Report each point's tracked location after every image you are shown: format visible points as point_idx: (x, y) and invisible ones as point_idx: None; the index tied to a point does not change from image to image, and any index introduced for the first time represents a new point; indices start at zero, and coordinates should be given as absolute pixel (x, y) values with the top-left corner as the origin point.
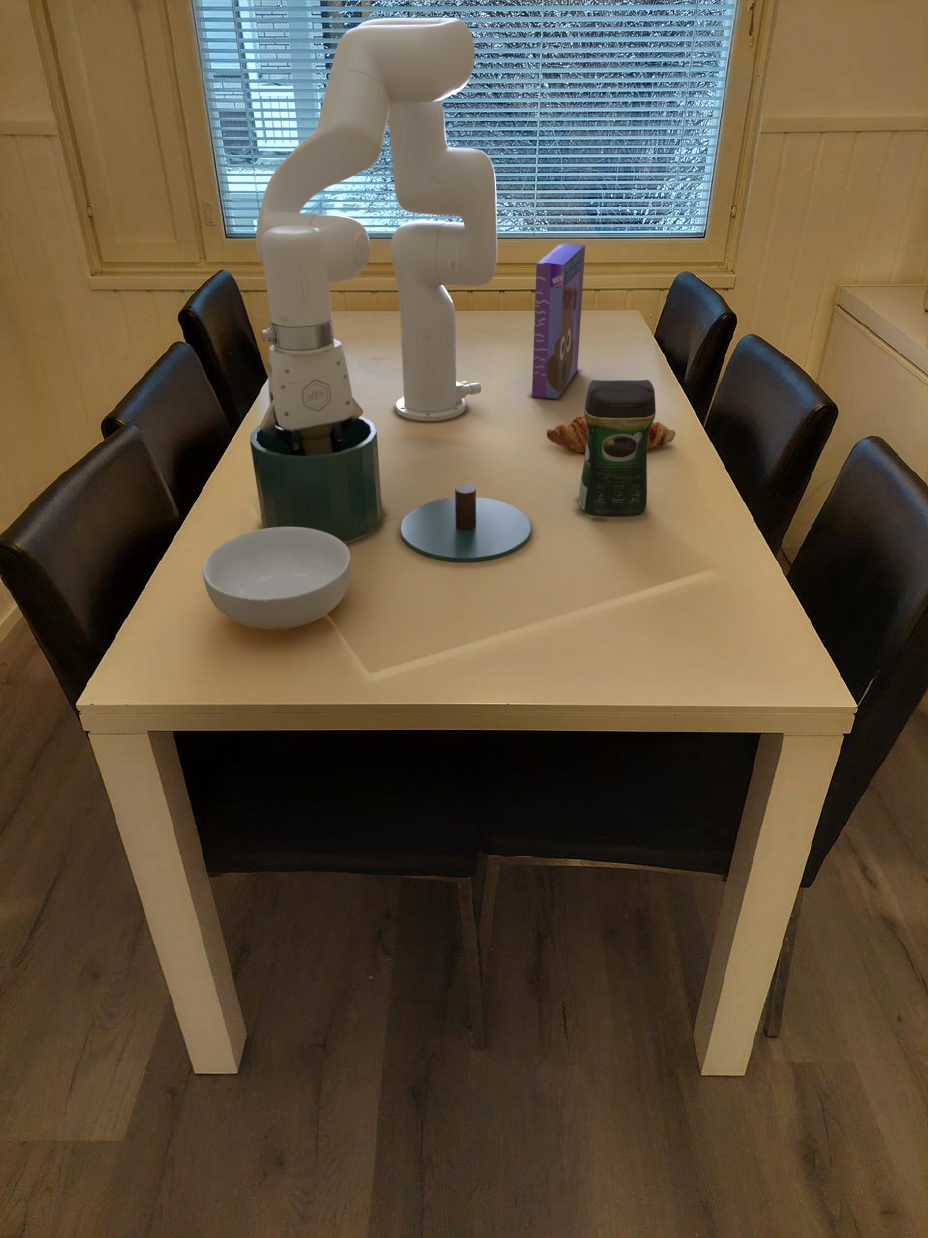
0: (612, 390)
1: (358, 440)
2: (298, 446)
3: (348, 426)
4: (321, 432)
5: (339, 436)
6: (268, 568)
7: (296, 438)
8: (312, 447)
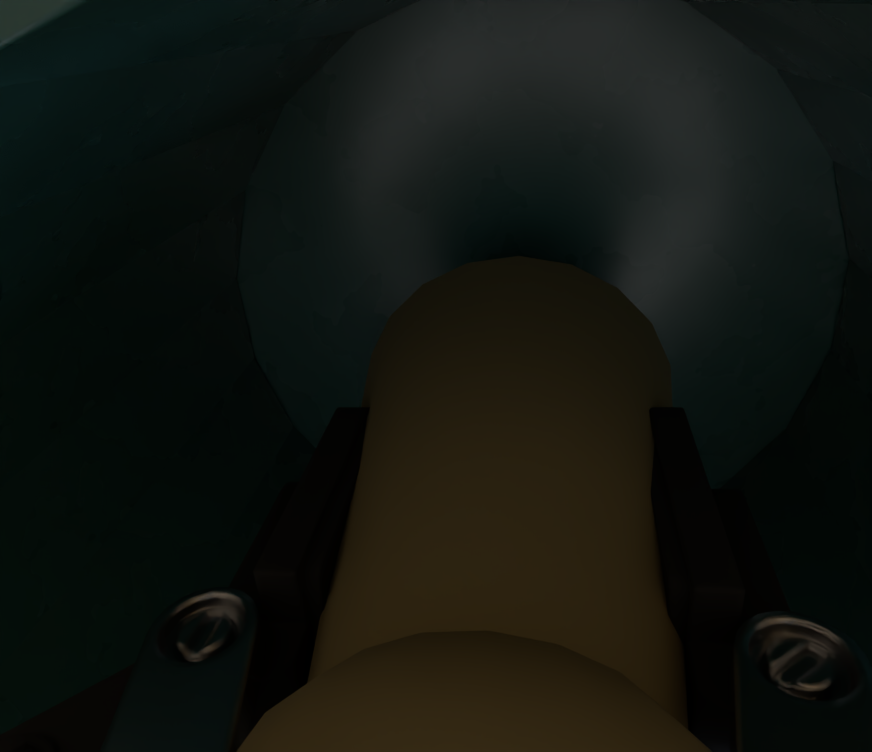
0: None
1: (103, 653)
2: (748, 646)
3: (32, 732)
4: (426, 696)
5: (201, 638)
6: None
7: (812, 748)
8: (583, 567)
